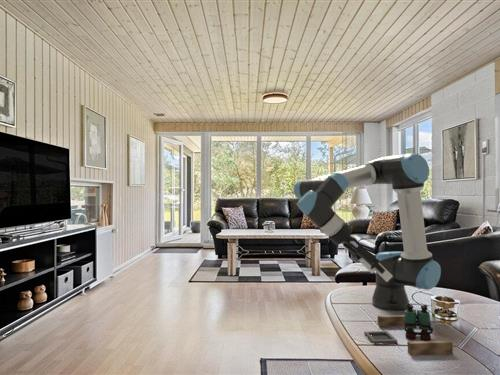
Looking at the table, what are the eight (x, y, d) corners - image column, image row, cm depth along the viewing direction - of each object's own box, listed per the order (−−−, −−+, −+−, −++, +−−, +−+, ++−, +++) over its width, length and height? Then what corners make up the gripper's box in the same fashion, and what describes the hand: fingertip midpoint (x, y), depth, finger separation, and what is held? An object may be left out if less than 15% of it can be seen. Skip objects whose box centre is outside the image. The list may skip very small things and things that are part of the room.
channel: (410, 355, 107) (409, 343, 107) (377, 325, 132) (377, 315, 132) (452, 354, 108) (452, 342, 108) (412, 324, 133) (412, 314, 133)
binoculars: (404, 312, 117) (402, 301, 126) (405, 344, 118) (402, 330, 127) (435, 315, 114) (430, 303, 123) (435, 347, 115) (430, 332, 124)
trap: (373, 344, 116) (372, 341, 116) (364, 334, 124) (364, 331, 124) (397, 343, 116) (397, 340, 116) (387, 333, 124) (387, 331, 124)
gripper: (319, 233, 132) (361, 274, 132) (338, 241, 108) (389, 292, 108) (333, 218, 132) (375, 260, 132) (355, 224, 108) (406, 274, 108)
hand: (381, 274), depth 120 cm, fingers open, 12 cm apart
